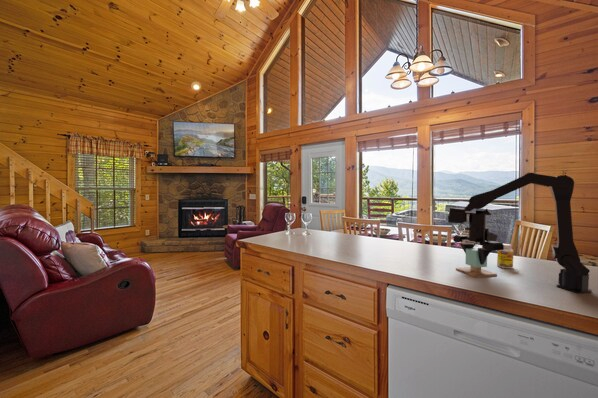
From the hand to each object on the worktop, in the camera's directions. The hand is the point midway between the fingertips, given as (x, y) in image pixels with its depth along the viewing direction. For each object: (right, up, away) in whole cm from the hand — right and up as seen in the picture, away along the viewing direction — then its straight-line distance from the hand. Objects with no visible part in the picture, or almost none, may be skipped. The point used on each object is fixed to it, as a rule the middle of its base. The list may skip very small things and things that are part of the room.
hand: (476, 262), depth 109 cm
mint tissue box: (0, -1, 0) cm, 1 cm away
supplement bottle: (+19, -4, +8) cm, 21 cm away
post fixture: (0, -4, 0) cm, 4 cm away
